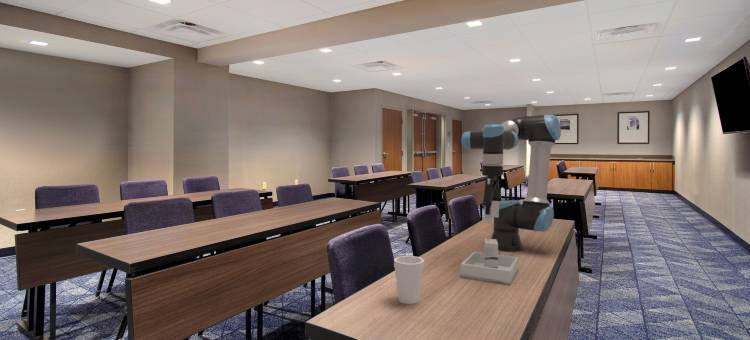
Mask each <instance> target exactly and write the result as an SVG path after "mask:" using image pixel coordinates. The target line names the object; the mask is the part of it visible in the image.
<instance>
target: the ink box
mask: <svg viewBox="0 0 750 340" xmlns="http://www.w3.org/2000/svg"><path fill="white" fill-rule="evenodd" d="M483 253H484V267H490V268H497V269H498V255H499V250H498V243H497V240H496V239H491V238H483Z"/></svg>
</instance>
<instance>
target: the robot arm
mask: <svg viewBox="0 0 750 340" xmlns="http://www.w3.org/2000/svg"><path fill="white" fill-rule="evenodd" d="M561 135H562V130H561V123H560V121H559V118H558V117H557V116H556V115H554V114H551V115H550V114H543V115H542V114H541V115H523V116H519V117H515V118H511V119H507V120H505V121H503V122H502V123H501V124H485V125H484V126H483V128H482V129H479V130H475V131H474V130H473V131H472V130H471V131H470V130H469V131H465V132H464V133H463V134H462V135H461V140H460V141H461V145H462V147H463V148H464V149H465V150H482V156H481V157H480V158H481V159H482V164H483V165H482V171H481V172H482V174H481V175H482V176H487V178H485V180H484V181H485V183H484V184H485V185H484V193H483V202H481V205H482V206H484V207H483V208H484V209H483V210H484V211H483V224H492V223H493V231H492V234H491V237H490V239H496V240H497V243H498V251H502V252H520V251H521V250H522V249H523V243H522V240H521V236H520V233H519V232H520V231H519V229H521V230H526V231H527V230H528V231H533V232H547V231H548V230H549V229H550V228H551V227H552V224H553V221H554V217H555V213H554V211H555V210H554V207H551V206H550V205H551V203H550V201H549V200H548V199H547V198H548V185H549V175H550V166H551V164H550V163H551V153H552V147H554V146H555V145H556V141H559V140H560V139H561ZM519 141H528V142H527V144H528V145H529V146H530V156H529V157H530V158H529V159H530V160H529V166H528V167H529V169H528V180H527V191H526V197H525V198H524V199H522V203H521V202H520V200H519V199H518V200H517V199H516V200H515V199H513V200H512V199H511V200H509V199H507V200H502V198H501V193H500V192H501V191H500V176H503V175H504V167H503V165H504V150H508V151H509V150H513V149H515V148H516V147H517V145H518V143H519Z"/></svg>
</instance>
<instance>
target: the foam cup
mask: <svg viewBox="0 0 750 340" xmlns="http://www.w3.org/2000/svg"><path fill="white" fill-rule="evenodd" d="M393 267H394V272H395V281H396V290H397V296H398V301H399V302H400V303H402V304H406V305H414V304H417V303H418V302H419V299H420V293H421V287H422V279H423V274H424V272H423V271H424V269H425V260H424V258H421V257H420V256H413V255H402V256H397V257H395V258H394V260H393Z"/></svg>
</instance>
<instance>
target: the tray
mask: <svg viewBox="0 0 750 340" xmlns="http://www.w3.org/2000/svg"><path fill="white" fill-rule="evenodd" d="M518 271H519V257H518V256H517V257H516V256H510V255H502V254H498V269H497V268H490V267H484V252H479V251H473V252H472V253H471V254H469V255H468V256H467V257H466V258H465V259H464V260H463V261H462V262H461V263H460V275H459V277H460V278H464V279H469V280H470V279H471V280H477V281H483V282H489V283H495V284H502V285H508V286H511V285H512V282H513V281H514V278H515V277H516V276H517V273H518Z"/></svg>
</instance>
